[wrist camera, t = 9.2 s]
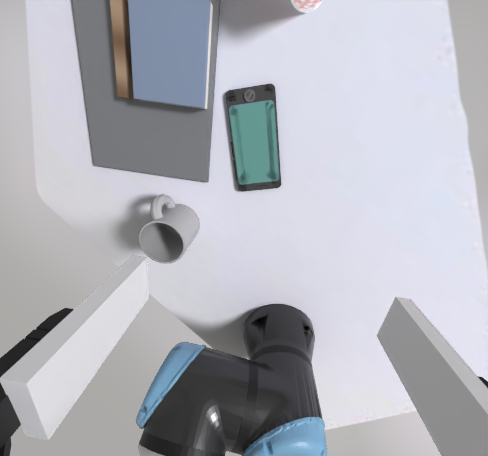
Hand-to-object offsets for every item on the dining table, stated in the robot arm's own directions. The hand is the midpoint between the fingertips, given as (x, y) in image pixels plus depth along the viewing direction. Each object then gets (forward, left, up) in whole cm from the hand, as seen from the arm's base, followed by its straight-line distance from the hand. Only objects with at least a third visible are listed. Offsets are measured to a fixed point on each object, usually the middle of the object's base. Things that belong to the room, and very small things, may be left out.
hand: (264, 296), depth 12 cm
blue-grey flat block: (+16, +21, -27) cm, 37 cm away
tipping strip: (+16, +23, -29) cm, 40 cm away
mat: (+11, +20, -29) cm, 37 cm away
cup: (-8, +15, -29) cm, 33 cm away
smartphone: (+6, +3, -29) cm, 30 cm away
